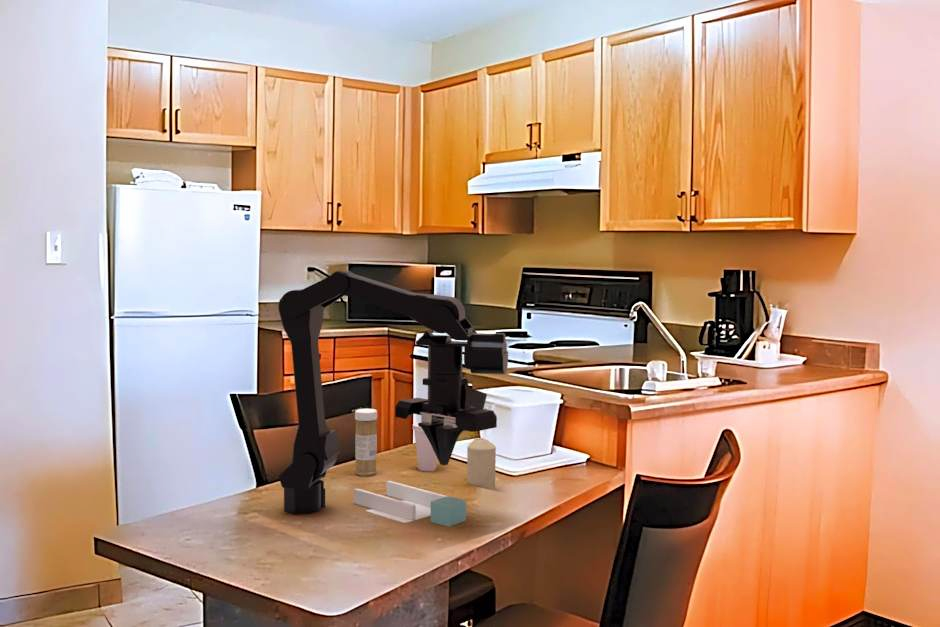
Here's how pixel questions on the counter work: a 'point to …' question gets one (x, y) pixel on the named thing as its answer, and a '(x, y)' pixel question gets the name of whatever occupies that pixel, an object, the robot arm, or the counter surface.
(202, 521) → the counter surface
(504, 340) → the robot arm
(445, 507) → the block
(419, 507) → the trough
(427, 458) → the smoothie
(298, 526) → the counter surface
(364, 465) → the sprinkles bottle
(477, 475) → the tan upright block
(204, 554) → the counter surface
